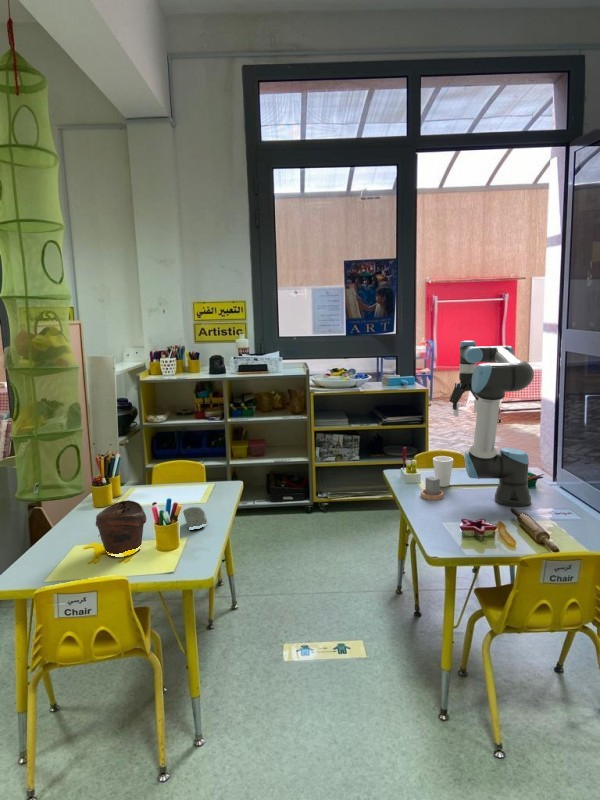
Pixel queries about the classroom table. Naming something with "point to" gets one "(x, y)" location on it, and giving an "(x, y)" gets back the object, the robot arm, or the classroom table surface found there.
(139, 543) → the chocolate muffin
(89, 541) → the classroom table surface
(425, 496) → the terracotta dish
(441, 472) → the foam cup
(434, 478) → the stone block
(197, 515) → the decorative stone
